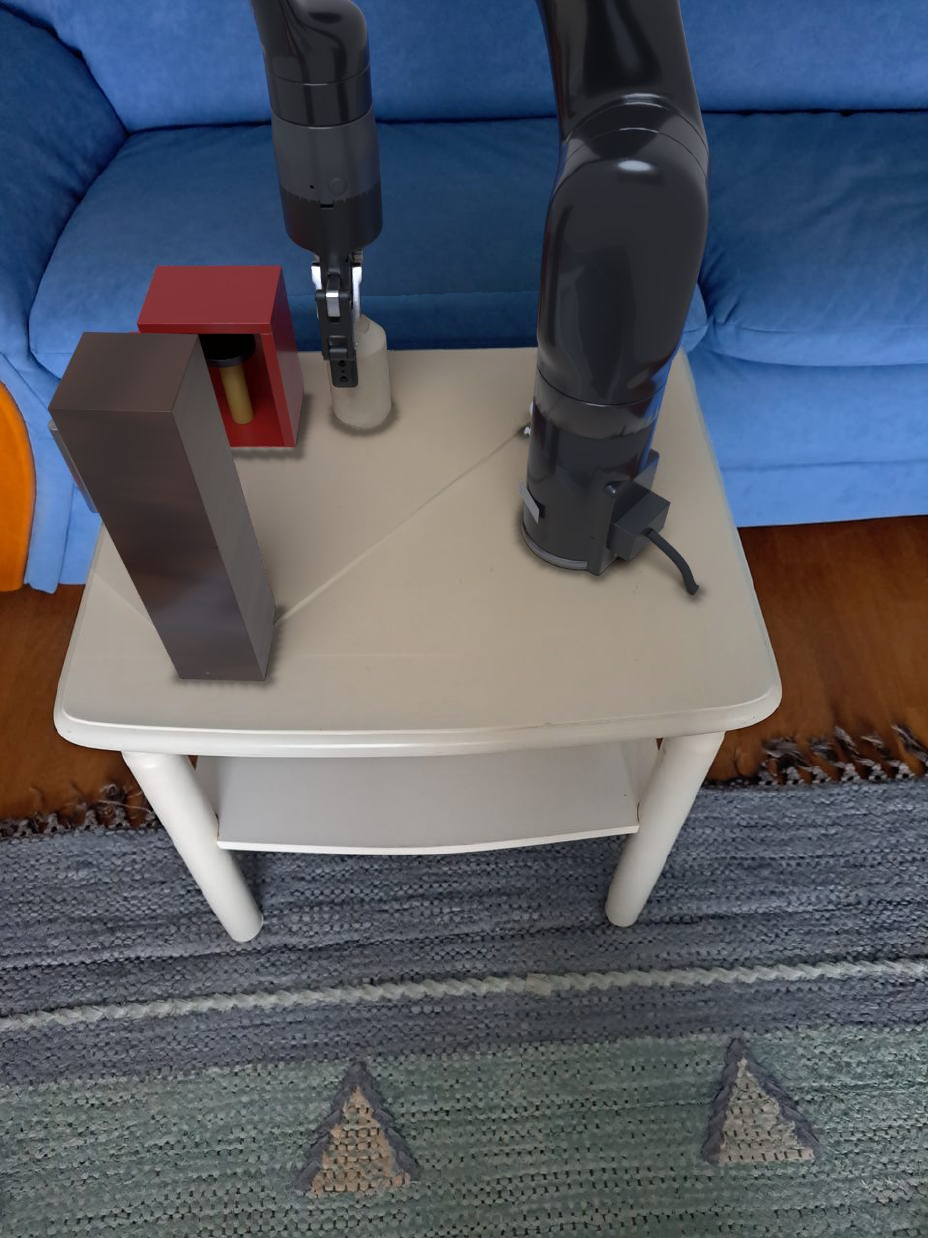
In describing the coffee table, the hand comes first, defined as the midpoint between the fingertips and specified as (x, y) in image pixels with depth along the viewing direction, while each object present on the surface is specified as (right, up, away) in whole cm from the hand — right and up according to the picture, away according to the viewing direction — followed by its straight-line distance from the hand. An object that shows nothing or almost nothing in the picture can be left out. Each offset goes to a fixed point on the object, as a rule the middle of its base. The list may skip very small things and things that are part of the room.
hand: (347, 353), depth 77 cm
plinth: (-8, -25, -10) cm, 28 cm away
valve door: (-18, -14, -1) cm, 22 cm away
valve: (-10, -5, +4) cm, 12 cm away
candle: (+1, -4, +6) cm, 7 cm away
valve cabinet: (-10, -5, +5) cm, 13 cm away
